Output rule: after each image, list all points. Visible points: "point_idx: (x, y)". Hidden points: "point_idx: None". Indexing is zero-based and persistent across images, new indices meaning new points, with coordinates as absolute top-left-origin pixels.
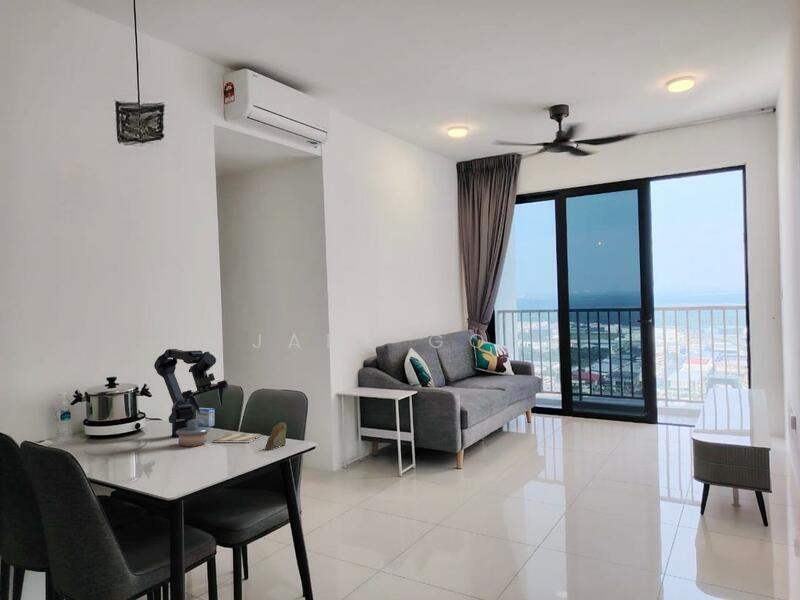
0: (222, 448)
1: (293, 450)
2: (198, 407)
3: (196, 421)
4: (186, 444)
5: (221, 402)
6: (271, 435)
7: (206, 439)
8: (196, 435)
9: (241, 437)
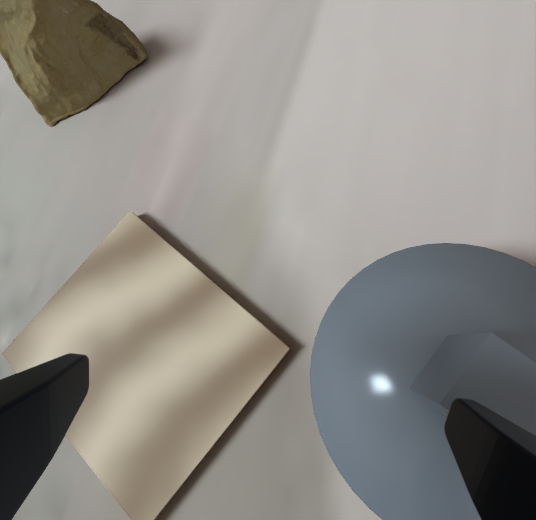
0: (291, 164)
1: None
2: (526, 446)
3: (457, 368)
4: None
5: (39, 371)
6: (86, 3)
7: None
8: None
9: (127, 318)
